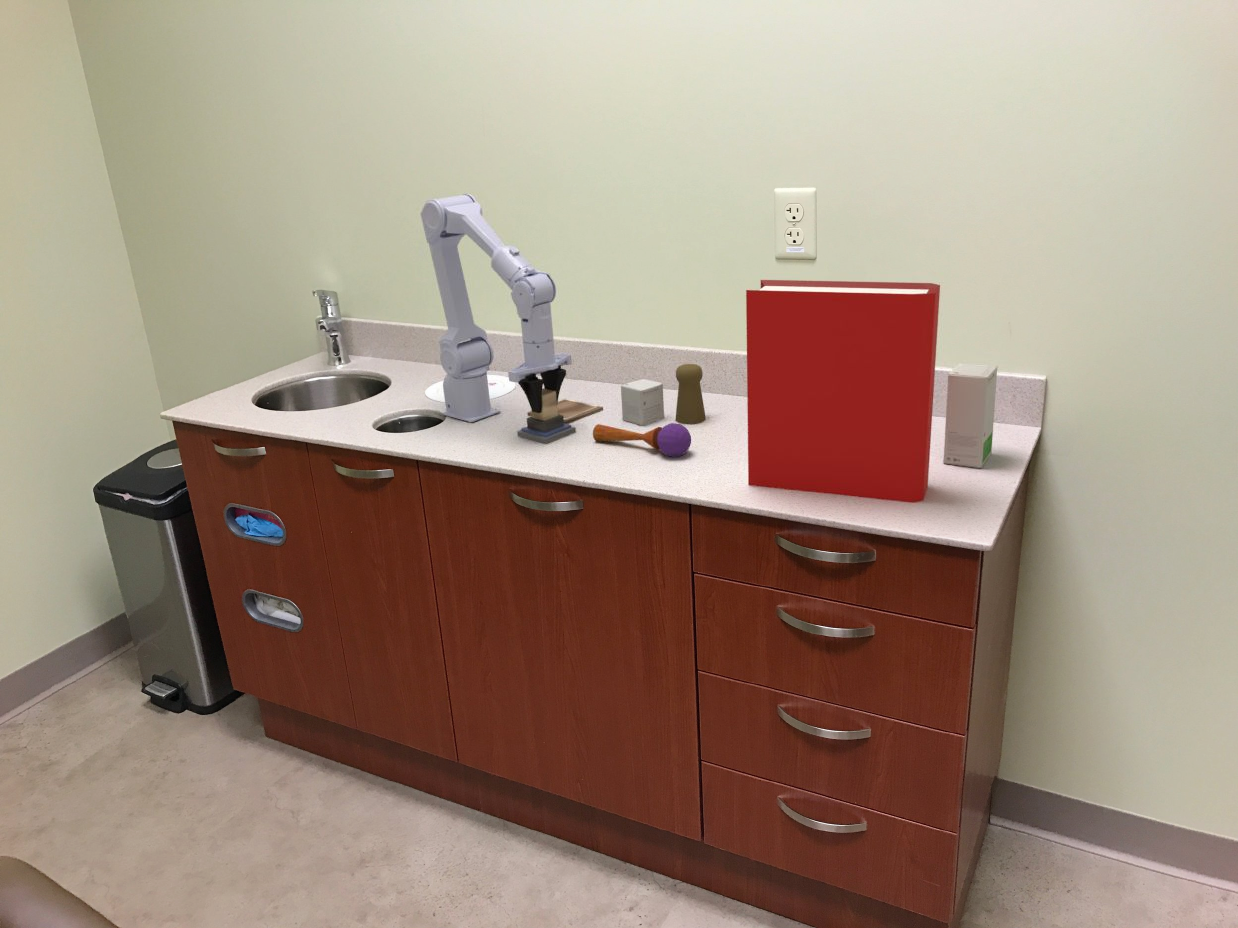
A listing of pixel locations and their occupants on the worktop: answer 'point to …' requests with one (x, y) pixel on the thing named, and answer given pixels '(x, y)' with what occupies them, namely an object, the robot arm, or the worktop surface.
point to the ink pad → (546, 434)
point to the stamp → (546, 414)
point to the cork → (689, 395)
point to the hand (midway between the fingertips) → (544, 409)
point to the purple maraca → (650, 437)
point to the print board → (574, 410)
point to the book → (841, 386)
